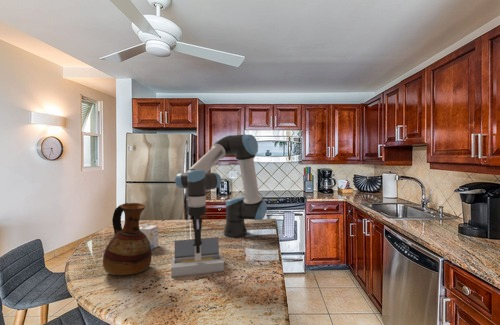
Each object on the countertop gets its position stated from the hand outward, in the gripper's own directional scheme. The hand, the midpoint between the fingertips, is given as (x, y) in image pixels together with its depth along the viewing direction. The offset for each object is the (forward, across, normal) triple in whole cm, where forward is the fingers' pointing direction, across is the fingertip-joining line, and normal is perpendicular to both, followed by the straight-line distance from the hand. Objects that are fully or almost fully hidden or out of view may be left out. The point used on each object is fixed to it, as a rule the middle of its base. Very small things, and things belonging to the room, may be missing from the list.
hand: (198, 259), depth 117 cm
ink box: (+6, -40, -26) cm, 48 cm away
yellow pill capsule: (+3, -5, 0) cm, 6 cm away
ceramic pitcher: (+6, -9, -30) cm, 32 cm away
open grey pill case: (+5, -4, 0) cm, 7 cm away
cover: (-3, -8, 0) cm, 8 cm away
